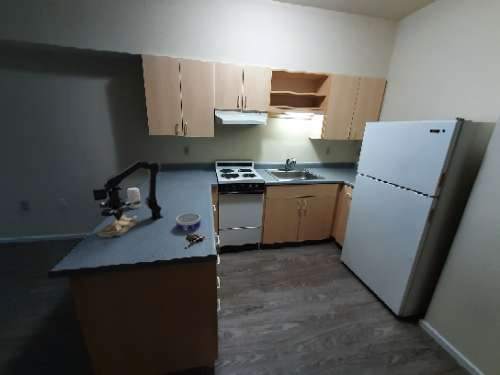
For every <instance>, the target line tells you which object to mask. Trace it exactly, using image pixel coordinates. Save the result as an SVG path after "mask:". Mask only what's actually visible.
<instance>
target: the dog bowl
mask: <svg viewBox="0 0 500 375" xmlns="http://www.w3.org/2000/svg"><path fill="white" fill-rule="evenodd" d="M175 223H176V227H177V229H178V230H179V231H180V232H181V231H182V232H192V231H195V230H197V229H199V228H200V227H201V223H202V222H201V215H200V214H198V213H196V212H186V213H185V212H184V213H182V214H179V215H178V216H176V218H175Z"/></svg>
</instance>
